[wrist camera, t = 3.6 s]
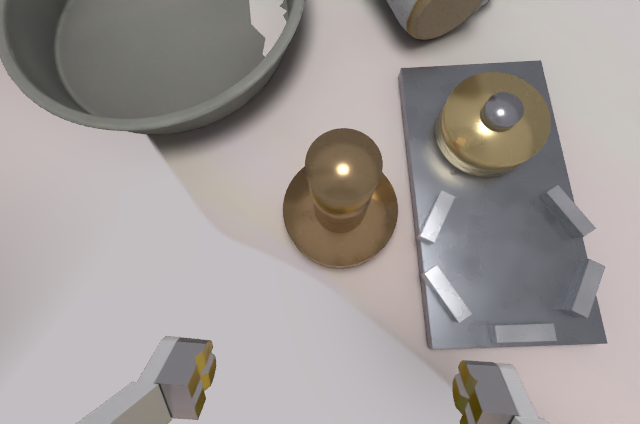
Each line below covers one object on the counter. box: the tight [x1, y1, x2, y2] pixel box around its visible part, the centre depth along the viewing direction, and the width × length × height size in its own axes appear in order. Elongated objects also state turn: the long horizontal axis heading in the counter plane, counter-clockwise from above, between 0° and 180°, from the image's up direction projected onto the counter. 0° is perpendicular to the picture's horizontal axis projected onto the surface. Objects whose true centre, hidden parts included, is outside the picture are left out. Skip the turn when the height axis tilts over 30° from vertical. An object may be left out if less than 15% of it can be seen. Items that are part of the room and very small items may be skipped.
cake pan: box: [0, 0, 305, 134], centre depth 28 cm, size 25×25×4 cm
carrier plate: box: [398, 61, 607, 349], centre depth 23 cm, size 12×21×5 cm, turn 2°
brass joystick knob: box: [283, 128, 398, 268], centre depth 20 cm, size 8×8×10 cm
